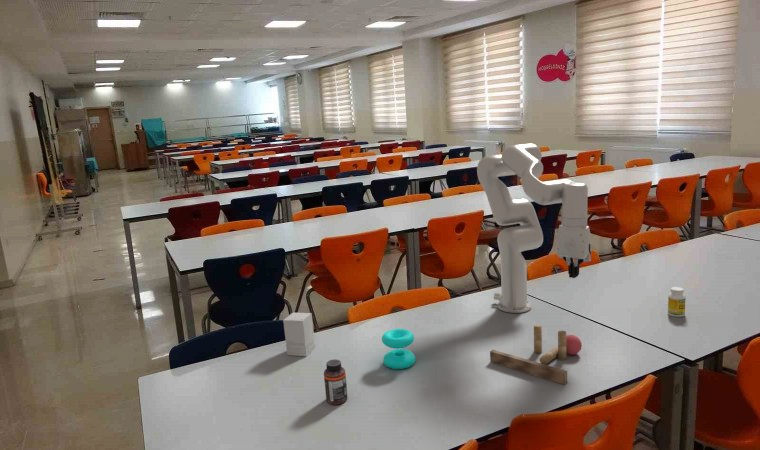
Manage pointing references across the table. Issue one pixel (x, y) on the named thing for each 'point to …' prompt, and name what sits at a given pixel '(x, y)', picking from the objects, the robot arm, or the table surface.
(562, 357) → the right back pin
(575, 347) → the ball
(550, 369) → the back wall
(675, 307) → the supplement bottle
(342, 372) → the supplement bottle
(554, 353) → the front pin
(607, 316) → the table surface
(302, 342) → the supplement box
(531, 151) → the robot arm
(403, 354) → the donuts
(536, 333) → the left back pin
